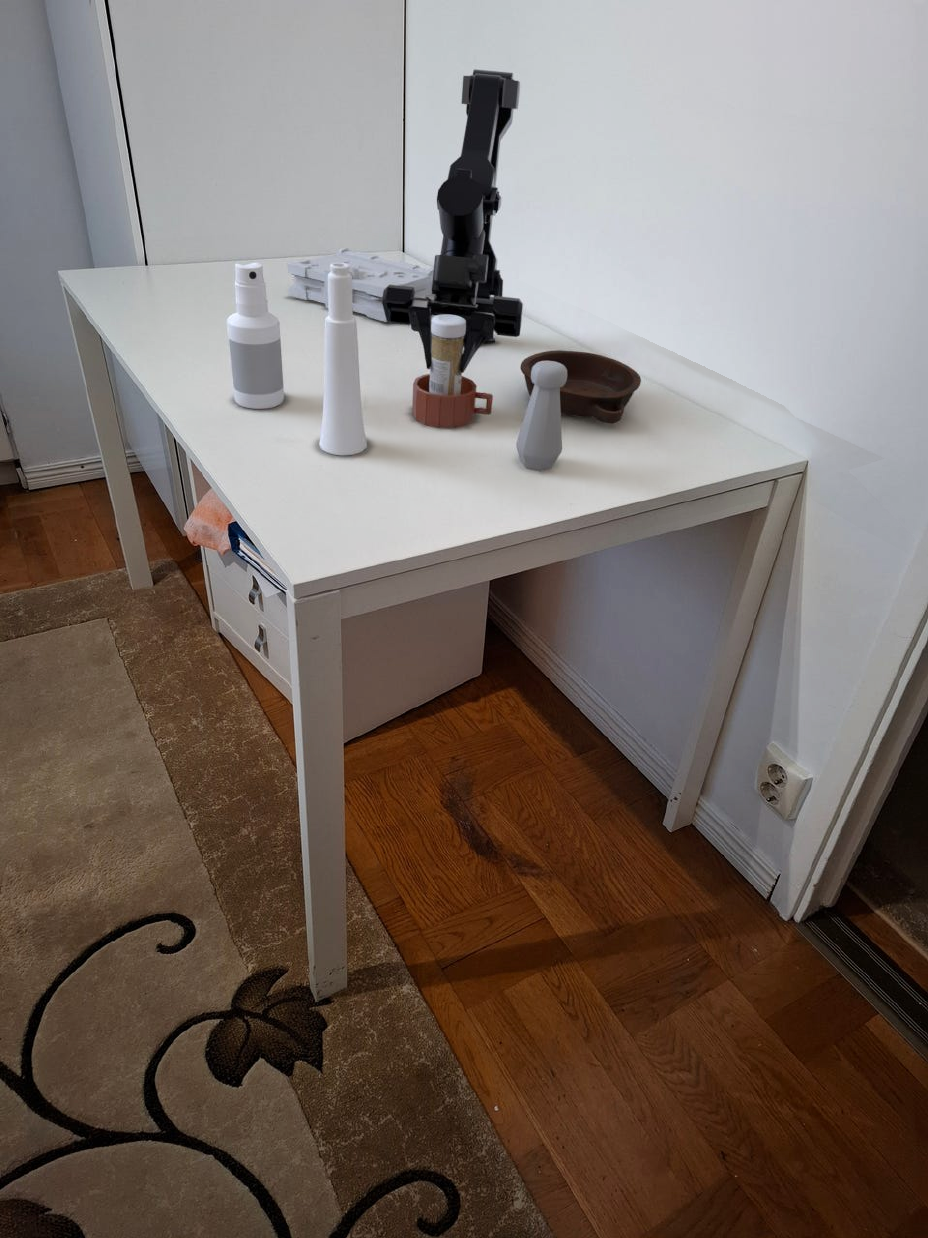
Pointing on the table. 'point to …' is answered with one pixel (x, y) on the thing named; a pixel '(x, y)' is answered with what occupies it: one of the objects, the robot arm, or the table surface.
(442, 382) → the sprinkles bottle
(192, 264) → the table surface
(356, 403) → the cosmetic bottle
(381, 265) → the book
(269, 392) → the spray bottle
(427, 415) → the cup
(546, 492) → the table surface
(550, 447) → the salt shaker
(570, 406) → the dish
